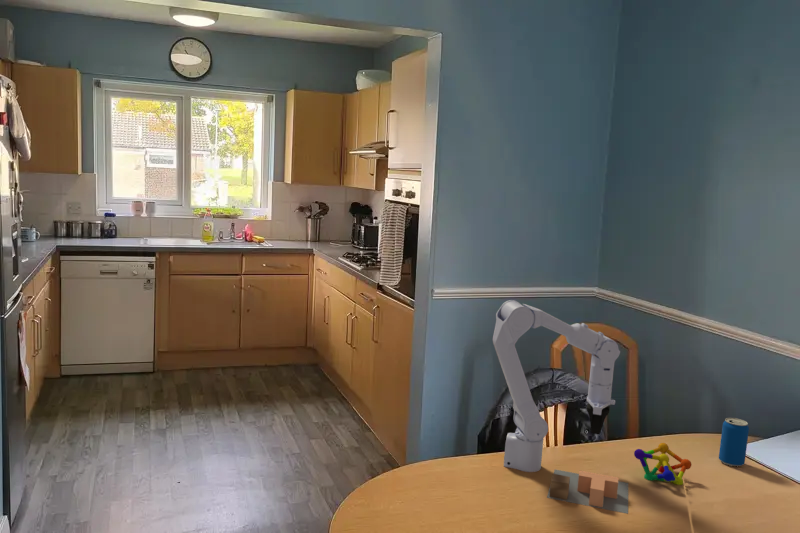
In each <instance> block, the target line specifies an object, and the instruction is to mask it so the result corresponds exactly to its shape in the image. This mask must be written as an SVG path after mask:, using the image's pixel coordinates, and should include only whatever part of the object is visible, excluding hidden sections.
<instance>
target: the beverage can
mask: <svg viewBox="0 0 800 533" xmlns="http://www.w3.org/2000/svg"><path fill="white" fill-rule="evenodd" d="M748 424H749V423H748V422H747V421H746V420H744V419H740V418H737V417H726V418H725V419H724V421H723V422H722V427H721V428H722V429H721V434H720V435H721V437H720V445H719V454H718V460H720V461H721V463H722V464H724V465H725V466H728V465H729V466H728V467H732V466H737V467H736V468H739V467H738V466H740V467H741V466H743V465H745V462H746V454H747V449H748V448H747V447H748V442H749V441H748V438H749V431H750V427H749V425H748Z"/></svg>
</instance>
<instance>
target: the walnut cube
mask: <svg viewBox="0 0 800 533" xmlns="http://www.w3.org/2000/svg"><path fill="white" fill-rule="evenodd" d="M551 475H552V476H551V478H550V485H549V488H550V496H549V497H554V498H559V499H564V500H567V497H568V492H569V482H570V477H568V476H563V475H557V474H554V473H552V474H551Z"/></svg>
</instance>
